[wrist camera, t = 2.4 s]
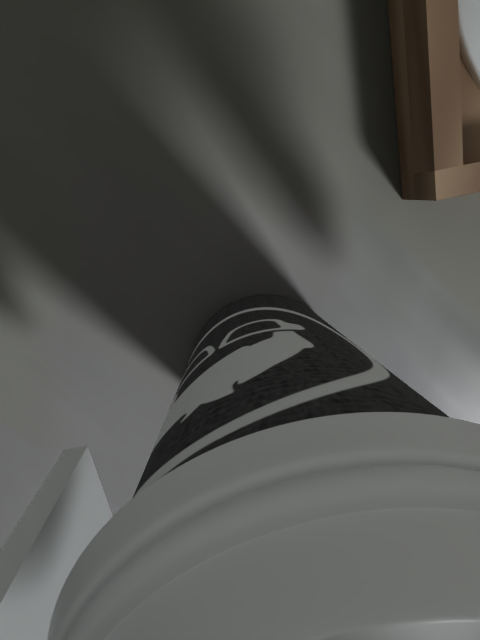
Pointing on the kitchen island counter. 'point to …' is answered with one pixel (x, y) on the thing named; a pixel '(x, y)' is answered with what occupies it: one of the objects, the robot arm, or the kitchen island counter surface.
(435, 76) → the tray
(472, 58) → the saucer
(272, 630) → the coffee cup
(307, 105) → the kitchen island counter surface
